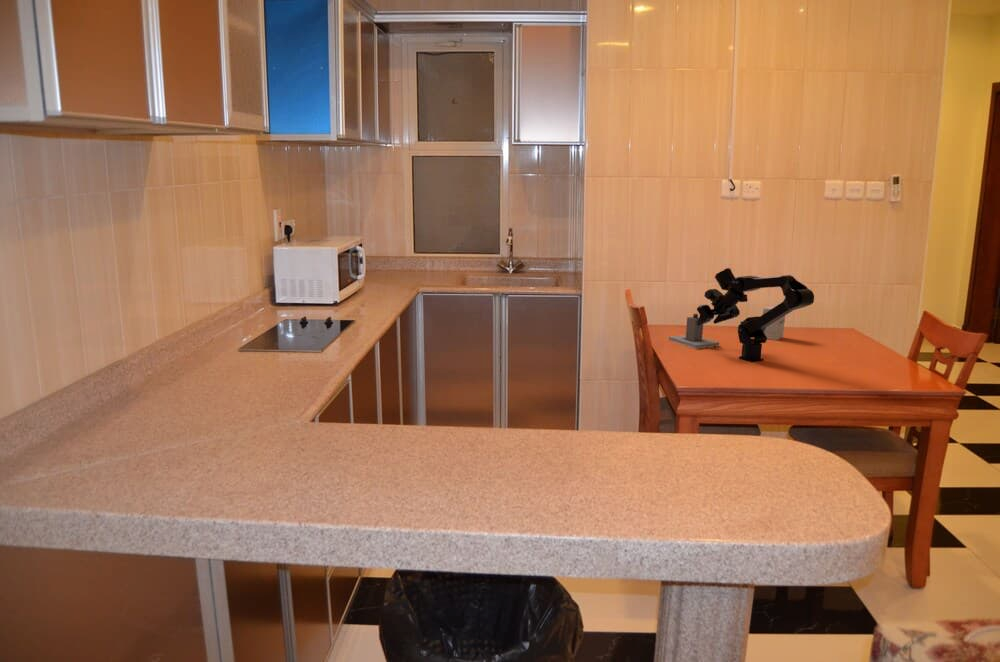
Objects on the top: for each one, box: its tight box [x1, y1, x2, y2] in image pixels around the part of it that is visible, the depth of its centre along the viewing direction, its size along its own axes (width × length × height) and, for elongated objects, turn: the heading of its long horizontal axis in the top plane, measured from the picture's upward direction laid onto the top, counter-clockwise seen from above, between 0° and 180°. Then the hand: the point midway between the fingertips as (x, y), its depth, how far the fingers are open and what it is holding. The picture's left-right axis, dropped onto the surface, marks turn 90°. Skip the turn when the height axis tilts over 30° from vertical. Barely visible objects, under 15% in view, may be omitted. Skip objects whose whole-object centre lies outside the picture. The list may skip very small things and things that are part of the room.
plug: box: [685, 313, 704, 342], centre depth 311 cm, size 4×4×12 cm
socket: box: [668, 334, 720, 350], centre depth 312 cm, size 16×12×2 cm
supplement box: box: [762, 305, 786, 341], centre depth 324 cm, size 7×7×13 cm
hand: (705, 323), depth 306 cm, fingers open, 9 cm apart
